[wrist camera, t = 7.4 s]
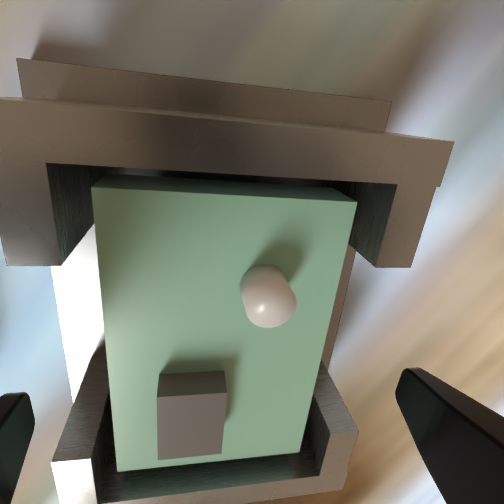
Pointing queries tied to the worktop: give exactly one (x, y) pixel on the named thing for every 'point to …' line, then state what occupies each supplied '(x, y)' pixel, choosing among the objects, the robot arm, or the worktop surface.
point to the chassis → (207, 168)
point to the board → (214, 312)
